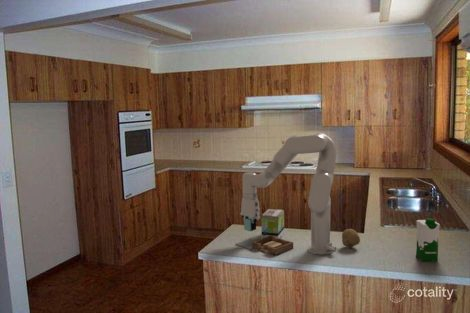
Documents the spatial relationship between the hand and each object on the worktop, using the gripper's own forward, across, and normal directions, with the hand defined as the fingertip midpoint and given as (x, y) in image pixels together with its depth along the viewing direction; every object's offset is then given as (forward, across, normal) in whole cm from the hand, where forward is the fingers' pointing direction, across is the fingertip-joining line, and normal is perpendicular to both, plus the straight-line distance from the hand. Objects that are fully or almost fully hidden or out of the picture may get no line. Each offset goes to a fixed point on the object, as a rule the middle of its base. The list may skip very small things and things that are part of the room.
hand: (250, 228), depth 219 cm
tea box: (+9, -1, -17) cm, 19 cm away
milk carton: (+8, -76, -42) cm, 88 cm away
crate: (+9, -13, -3) cm, 16 cm away
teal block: (+1, 0, 0) cm, 1 cm away
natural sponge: (+8, -42, -31) cm, 53 cm away
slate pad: (+9, 0, 0) cm, 9 cm away
